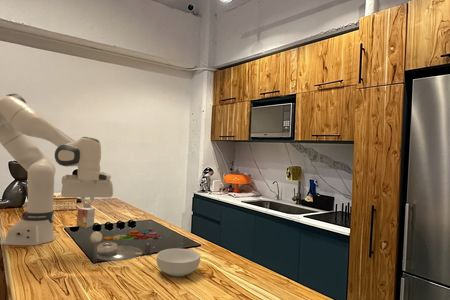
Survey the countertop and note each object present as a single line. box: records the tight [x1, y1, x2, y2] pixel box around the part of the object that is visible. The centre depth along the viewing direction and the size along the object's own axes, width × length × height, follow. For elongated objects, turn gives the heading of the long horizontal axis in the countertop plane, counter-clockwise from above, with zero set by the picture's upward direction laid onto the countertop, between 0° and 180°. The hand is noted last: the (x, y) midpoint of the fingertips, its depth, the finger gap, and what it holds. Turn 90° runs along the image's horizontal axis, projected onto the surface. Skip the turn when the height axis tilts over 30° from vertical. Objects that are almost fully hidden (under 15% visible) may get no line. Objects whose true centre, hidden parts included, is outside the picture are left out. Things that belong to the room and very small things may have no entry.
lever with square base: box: [89, 231, 103, 264], centre depth 125 cm, size 4×5×14 cm
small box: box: [76, 207, 96, 229], centre depth 186 cm, size 8×6×10 cm
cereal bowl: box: [156, 247, 201, 277], centre depth 123 cm, size 17×17×7 cm
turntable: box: [97, 242, 152, 262], centre depth 138 cm, size 23×20×6 cm
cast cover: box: [97, 240, 118, 256], centre depth 136 cm, size 8×8×5 cm
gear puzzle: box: [102, 227, 162, 241], centre depth 165 cm, size 31×16×4 cm, turn 130°
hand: (87, 207), depth 134 cm, fingers closed
